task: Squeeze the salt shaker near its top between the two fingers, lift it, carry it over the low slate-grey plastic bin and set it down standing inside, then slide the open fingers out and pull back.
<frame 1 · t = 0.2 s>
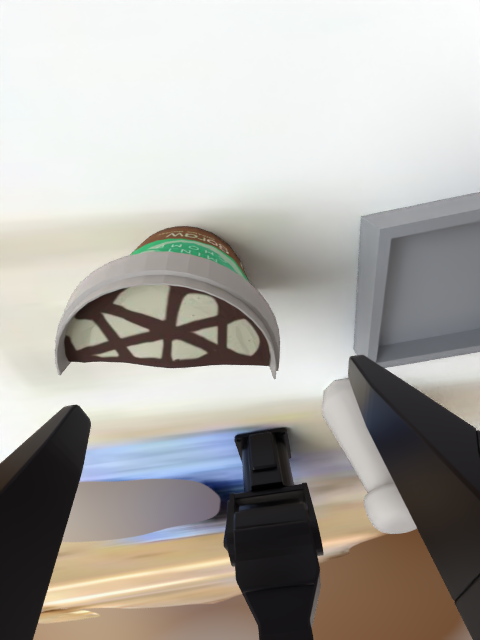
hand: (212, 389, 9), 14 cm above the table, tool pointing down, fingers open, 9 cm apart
bin: (434, 278, 24), on the table
food container: (188, 250, 22), on the table
salt shaker: (341, 389, 32), on the table
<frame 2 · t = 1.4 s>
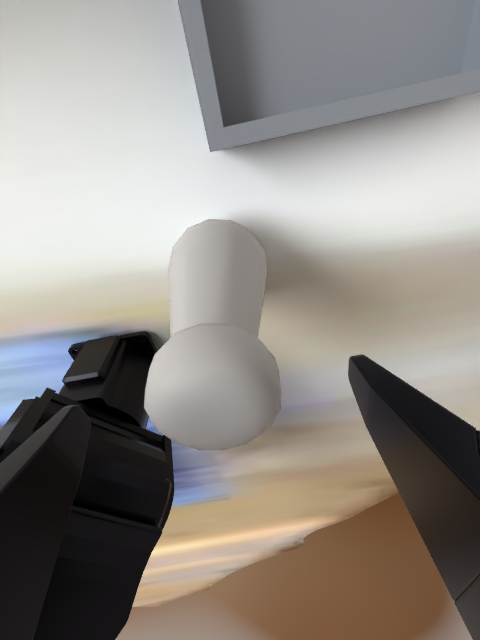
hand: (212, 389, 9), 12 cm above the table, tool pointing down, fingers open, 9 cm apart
salt shaker: (219, 253, 19), on the table
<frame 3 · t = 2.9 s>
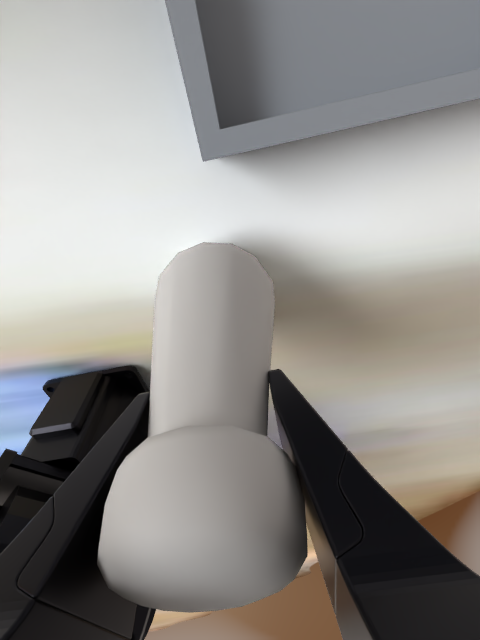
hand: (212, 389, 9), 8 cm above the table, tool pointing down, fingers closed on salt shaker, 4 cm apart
salt shaker: (216, 278, 16), on the table, touching gripper
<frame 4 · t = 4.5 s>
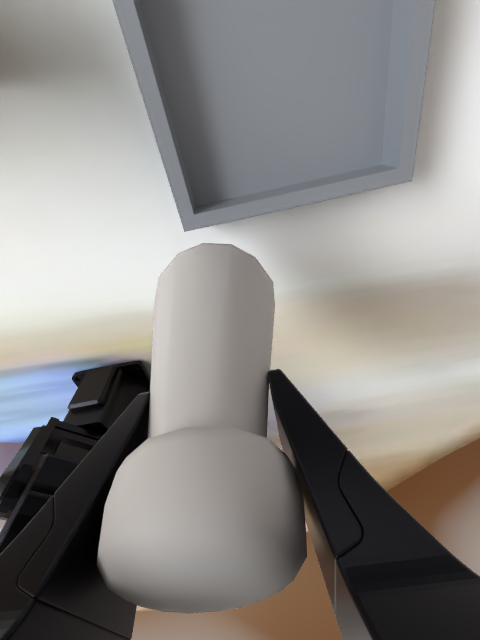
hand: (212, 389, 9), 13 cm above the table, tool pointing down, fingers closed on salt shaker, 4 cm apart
bin: (271, 67, 15), on the table
salt shaker: (216, 278, 16), point 5 cm above the table, touching gripper
when the fingers open (10 cm above the table, at t = 6.5 s): salt shaker drops 1 cm, resting on bin.
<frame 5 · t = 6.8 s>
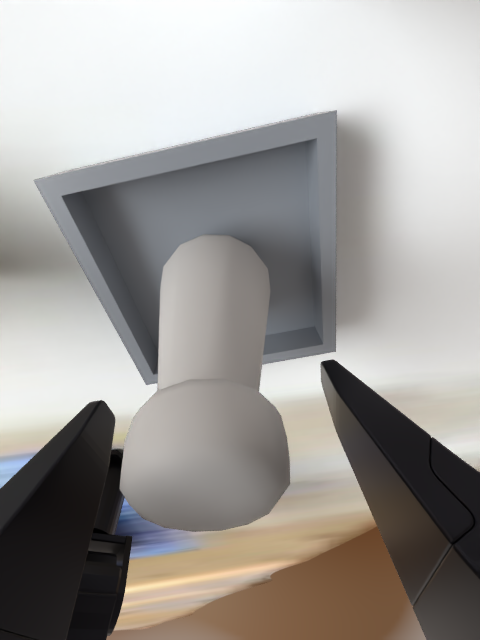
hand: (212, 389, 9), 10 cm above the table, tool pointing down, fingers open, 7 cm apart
bin: (217, 262, 18), on the table
salt shaker: (217, 268, 17), point 1 cm above the table, touching bin
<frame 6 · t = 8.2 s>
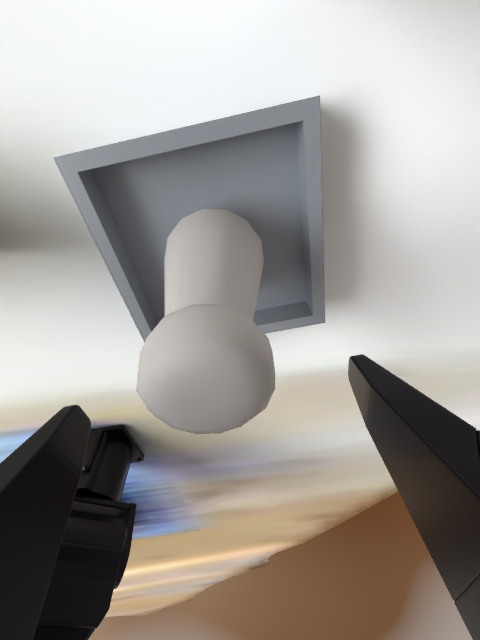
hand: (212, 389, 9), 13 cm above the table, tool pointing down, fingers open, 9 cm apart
bin: (215, 239, 20), on the table
salt shaker: (215, 244, 19), point 1 cm above the table, touching bin
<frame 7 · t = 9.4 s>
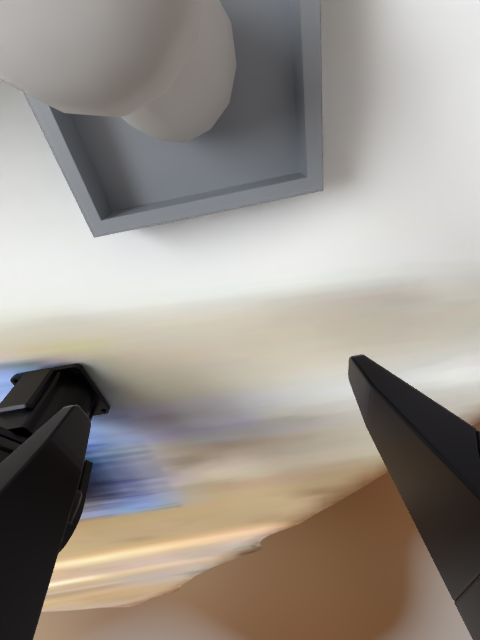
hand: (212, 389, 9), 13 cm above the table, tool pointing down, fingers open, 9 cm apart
bin: (176, 70, 15), on the table
salt shaker: (174, 70, 14), point 1 cm above the table, touching bin
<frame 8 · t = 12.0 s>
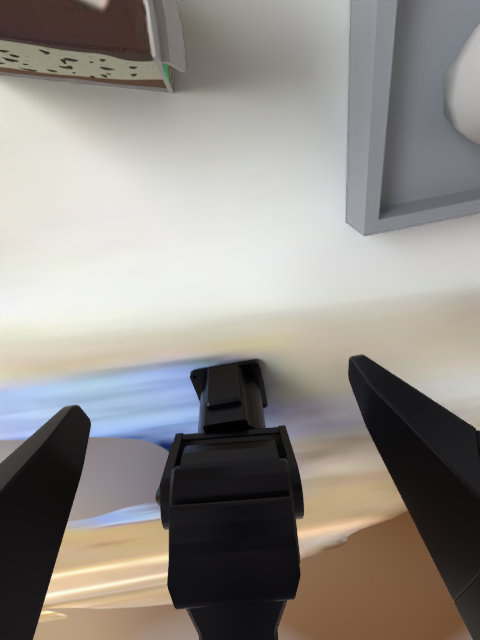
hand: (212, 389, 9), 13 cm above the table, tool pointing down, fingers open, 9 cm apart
bin: (468, 77, 15), on the table
salt shaker: (479, 77, 15), point 1 cm above the table, touching bin
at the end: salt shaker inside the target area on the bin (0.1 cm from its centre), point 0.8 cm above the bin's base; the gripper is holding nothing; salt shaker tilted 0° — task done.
